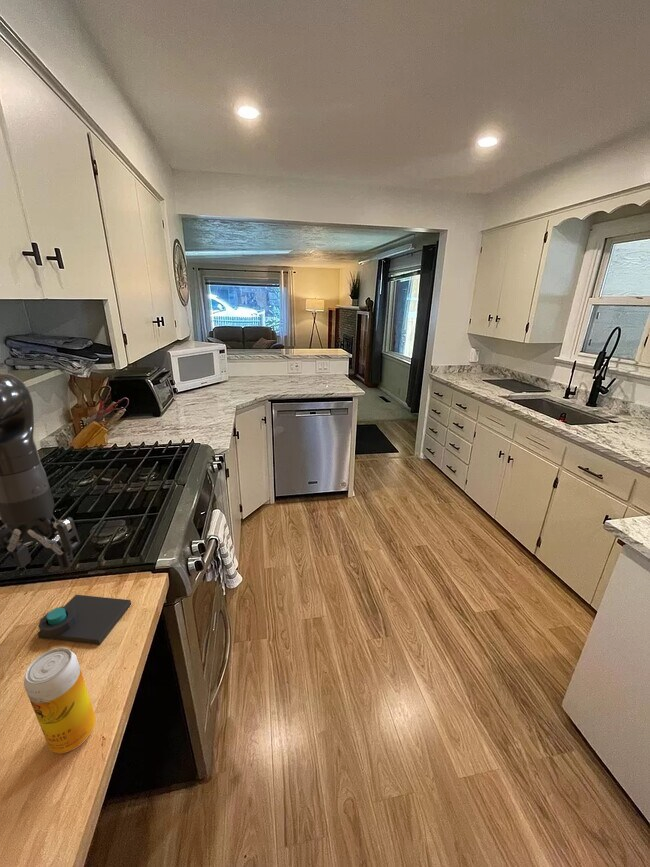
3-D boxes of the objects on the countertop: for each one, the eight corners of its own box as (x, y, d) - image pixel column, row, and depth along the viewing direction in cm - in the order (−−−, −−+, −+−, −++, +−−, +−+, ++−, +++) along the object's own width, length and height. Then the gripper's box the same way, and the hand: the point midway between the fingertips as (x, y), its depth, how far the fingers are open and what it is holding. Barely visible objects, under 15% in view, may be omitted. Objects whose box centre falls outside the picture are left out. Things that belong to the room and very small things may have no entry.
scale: (35, 640, 70) (30, 628, 69) (75, 599, 80) (72, 588, 79) (98, 647, 69) (95, 635, 68) (131, 604, 79) (129, 594, 78)
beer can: (39, 750, 53) (9, 680, 48) (75, 708, 59) (52, 641, 53) (72, 762, 52) (45, 691, 47) (105, 717, 57) (85, 650, 52)
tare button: (44, 624, 71) (42, 618, 70) (56, 612, 73) (55, 606, 73) (58, 626, 70) (56, 620, 70) (70, 613, 73) (68, 608, 73)
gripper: (76, 482, 65) (95, 555, 70) (3, 478, 66) (28, 550, 71) (42, 503, 58) (66, 583, 63) (-39, 499, 59) (-8, 577, 64)
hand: (46, 565), depth 67 cm, fingers open, 8 cm apart
